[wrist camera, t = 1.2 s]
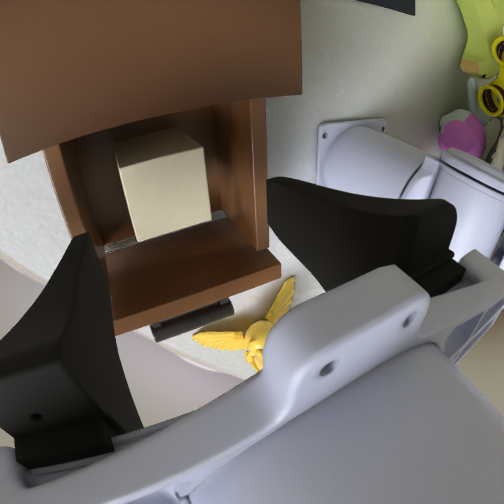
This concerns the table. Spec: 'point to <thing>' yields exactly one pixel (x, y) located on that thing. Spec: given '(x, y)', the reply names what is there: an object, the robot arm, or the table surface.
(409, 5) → the mat
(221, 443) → the robot arm
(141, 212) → the block
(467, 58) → the toy
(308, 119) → the table surface
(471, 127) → the toy
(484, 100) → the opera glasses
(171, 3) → the cabinet
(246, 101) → the drawer
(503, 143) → the running shoe
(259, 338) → the figurine
